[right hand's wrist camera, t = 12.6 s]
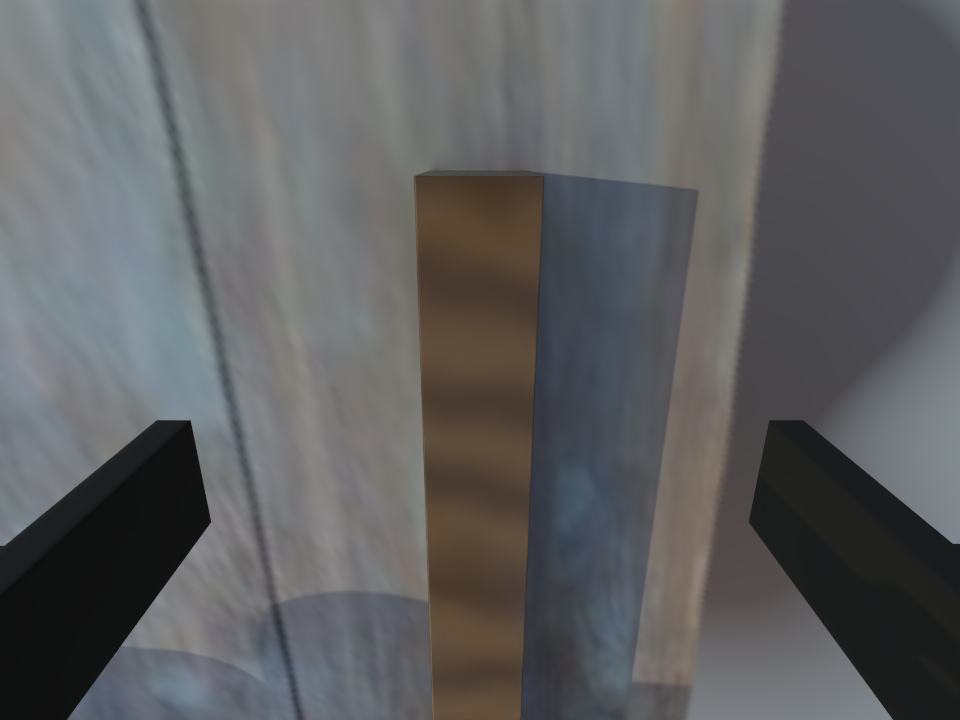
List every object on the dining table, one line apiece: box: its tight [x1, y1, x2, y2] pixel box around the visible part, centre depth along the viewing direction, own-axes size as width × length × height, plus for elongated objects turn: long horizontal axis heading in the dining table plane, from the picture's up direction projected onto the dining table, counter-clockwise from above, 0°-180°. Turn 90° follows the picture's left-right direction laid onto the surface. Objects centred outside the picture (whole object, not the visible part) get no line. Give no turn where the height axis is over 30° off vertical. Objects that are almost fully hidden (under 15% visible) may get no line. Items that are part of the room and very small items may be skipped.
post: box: [414, 171, 544, 720], centre depth 39 cm, size 67×6×8 cm, turn 0°
